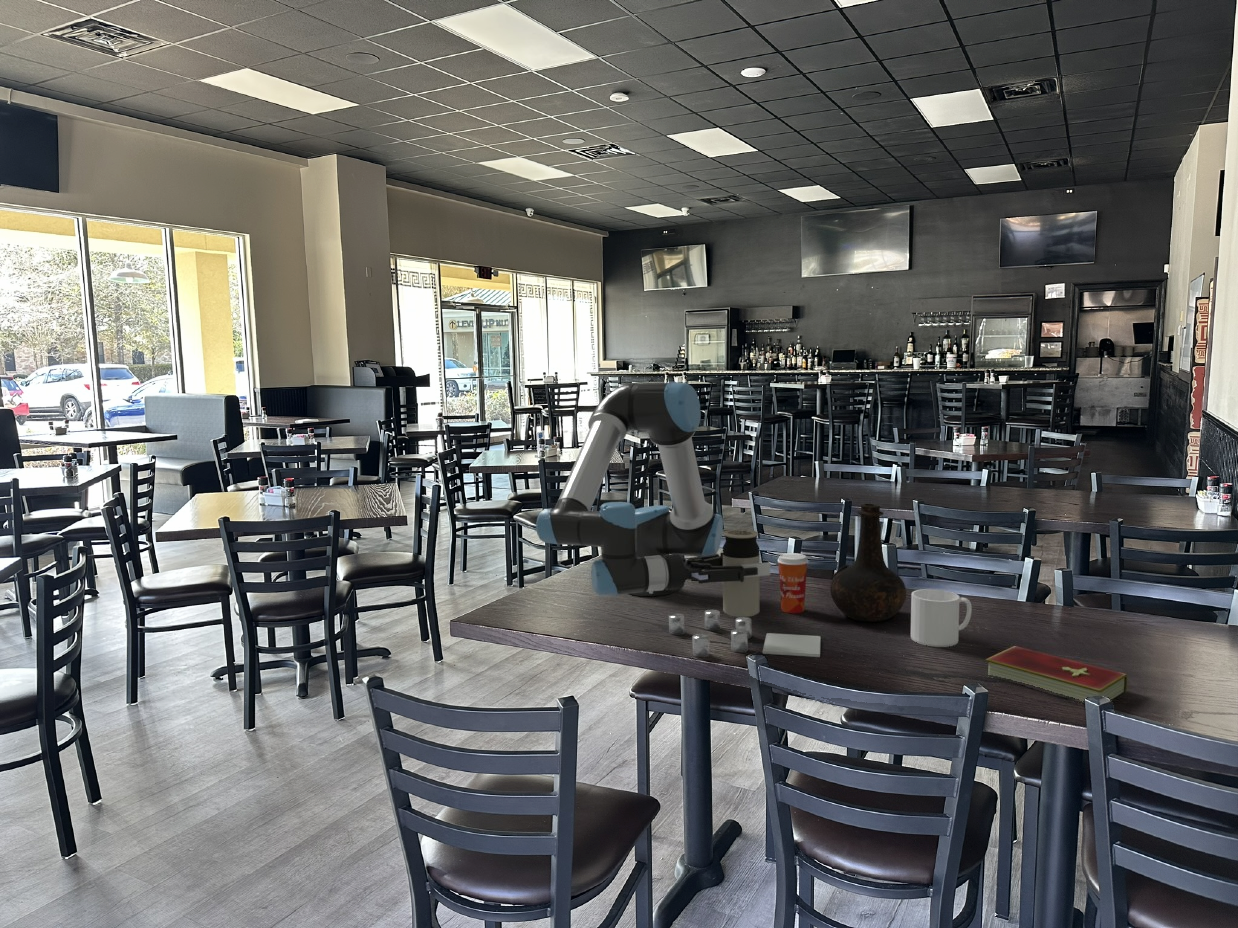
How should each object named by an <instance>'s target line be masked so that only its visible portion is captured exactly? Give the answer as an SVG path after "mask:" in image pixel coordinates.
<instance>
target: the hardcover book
mask: <svg viewBox="0 0 1238 928" xmlns="http://www.w3.org/2000/svg"><path fill="white" fill-rule="evenodd" d="M985 662H987V663H988V670H987V671H988V672H987V674H988V675H993V676H998V677H1001V678H1006V679H1011V680H1013V681H1017V682H1022V683H1025V684H1029V685H1033V686H1035V687H1040V688H1043V689H1045V690H1049V691H1052V692H1054V693H1058V694H1063V695H1065V696H1069V697H1073V698H1075V699H1079V700H1080V701H1082V702H1083V701H1084V699H1086V698H1087V697H1092V696H1104V697H1109V698H1110V699H1112V700H1113V699H1115V698H1116V697H1118V696H1119V695H1121V694H1123V693H1127V692H1128V673H1124V672H1119V671H1116V670H1111V669H1107V668H1104V667H1099V666H1095V665H1093V664H1092V665H1091V664H1087V663H1084V662H1080V661H1077V660H1072V659H1068V658H1065V657H1064V658H1063V657H1060V656H1056V655H1052V654H1047V653H1043V652H1042V651H1041V652H1040V651H1035V650H1032V649H1029V648H1028V649H1027V648H1025V647H1020V646H1016V645H1014V646H1011V647H1009V648H1007V649H1005V650H1002V651H1001V652H998V653H996V654H994V655H992V656H990V657H988V658H986V659H985ZM988 675H987V676H988Z"/></svg>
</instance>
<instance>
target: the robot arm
mask: <svg viewBox="0 0 1238 928" xmlns="http://www.w3.org/2000/svg"><path fill="white" fill-rule="evenodd" d="M701 416H702V414H701V403H700V399H699V396H698V393H697V391H696V390H695V388H694V387H693V386H692V385H690V384H688V383H686V382H677V381H669V382H630V383H626V384H622V385H621V386H618V387H616V388H615V389H614V390H612V391H610V392H609V393H608V394H607V395H606V396H604V397H603V399H602V400H601V401H600V402H599V403H598V404H597V405H596V407H595V408H594V409H593V412H592V413H591V416H590V418H589V419H588V423H587V426H588V429H589V430H588V432H587V434H586V436H585V439H584V441H583V443H582V446H581V448H580V450H579V453H578V455H577V457H576V459H575V461H574V464H573V466H572V468H571V470H570V472H569V475H568V477H567V479H566V481H565V483H564V486H563V488H562V491H561V492H560V495H559V498H558V499H557V501H556V504H555V505H554V508H552V507H551V508H543V509H542V511H540V512H539V514H538V516H537V518H536V523H535V524H536V525H535V529H536V534H537V536H538V539H539V540H540V541H541V542H543V543H548V544H551V545H552V544H554V545H559V546H560V545H568V546H569V545H570V546H582V547H583V546H586V547H597V548H600V549H601V550H600V551H601V552H600V553H601V557H600V558H601V559H597V560H594V561H593V562H592V563H591V570H590V579H591V585H592V588H593V591H594V592H595V593H596V594H597V595H598V596H618V595H619V596H620V595H627V594H628V595H632V596H639V597H640V596H641V597H654V596H655V597H656V596H657V597H658V596H665V595H668V594H669V595H670V594H671V593H674V592H675V591H676V590H681V589H683V588H684V586H685V583H686V581H687V580H690V581H691V582H698V583H699V584H708V583H723V582H728V581H741V582H743V581H744V578H745V577H756V576H759V577H766V576H771V562H768V561H767V562H759V563H755V564H743V565H741V566H723V552H720V554H718V552H719V549H720V547H721V542H722V538H723V537H722V536H723V530H724V519H723V516H722V515H721V514H720V513H719V514H718V513H714V510H713V507H712V505H711V504H710V503H708V502H707V501H706V500H705V496H704V495H705V494H704V489H703V486H702V480H701V476H700V472H699V467H698V462H697V459H696V453H695V449H694V443H693V439H692V437H693V436H694V434H695V433H696V430H698V427H699V426H700V423H701ZM632 431H643V432H644V431H646V432H648V437H649V439H650V441H651V442H652V443H653V444H655V445H657V448H658V450H659V455H660V459H661V463H662V464H661V465H662V467H663V472H664V475H665V479H666V483H667V489H668V492H669V497H670V500H671V505H672V508H671V509H672V510H671V509H670V507H669V506H667V505H661V504H660V505H652V506H644V507H639V508H636V507H635V505H634V504H632V503H631V502H625V501H610V502H604V503H603V504H601V505H600V509H599V510H598V511H597V510H591V509H592V507H593V504H594V502H595V500H596V497H597V494H598V492H599V489H600V488H601V484H602V483H603V480H604V477H605V476H606V473H607V471H608V469H609V465H610V464H611V461H612V459H613V456H614V453H615V451H616V449H617V446H618V445H619V442H622V441H623V440H624V439H625V438H626V436H627V433H628V432H632ZM670 510H671V511H670ZM682 556H686V557H682Z"/></svg>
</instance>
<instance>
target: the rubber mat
mask: <svg viewBox="0 0 1238 928" xmlns="http://www.w3.org/2000/svg"><path fill="white" fill-rule="evenodd" d="M762 654H766V655H768V654H769V655H782V656H783V655H784V656H794V657H795V656H797V657H811V658H813V657H814V658H820V657H821V635H808V634H807V635H804V634H788V633H774V632H773V633H772V632H771V633H770V632H769V633H768V632H767V633H766V635H765V639H764V644H763V649H762Z"/></svg>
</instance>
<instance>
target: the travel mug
mask: <svg viewBox="0 0 1238 928" xmlns="http://www.w3.org/2000/svg"><path fill="white" fill-rule="evenodd" d="M723 535H724V538H725V542H724V544H723V546H722V553H723V566H741V565H743V564H755V563H760V546H759V544H758V543H757V538H758V536H759V533H758V531H757V530H752V529H740V528H739V529H731V530H730V529H729V530H726V531H724V532H723ZM722 612H724V613H725V614H726V615H728V616H731V617H735V618H736V617H737V618H739V617H747V618H750V617H752V616H753V617H754V616H756V615H758V614H759V613H760V576H756V577H745V578H744V581H743V582H741V581H728V582H722Z"/></svg>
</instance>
